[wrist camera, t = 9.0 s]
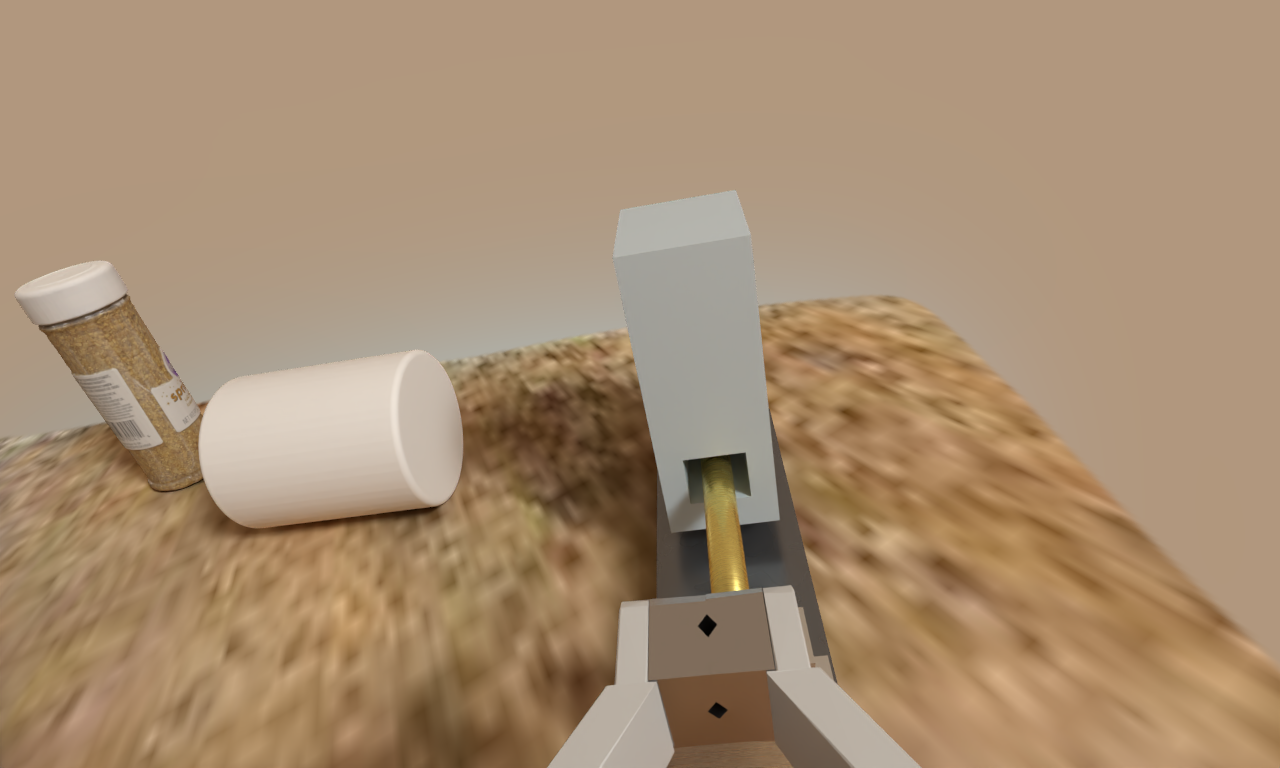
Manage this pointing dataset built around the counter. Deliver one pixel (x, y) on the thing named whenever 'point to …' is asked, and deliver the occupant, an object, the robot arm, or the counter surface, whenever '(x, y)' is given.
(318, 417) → the mug
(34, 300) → the sprinkles bottle
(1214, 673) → the counter surface
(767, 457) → the box sleeve
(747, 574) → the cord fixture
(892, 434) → the counter surface
